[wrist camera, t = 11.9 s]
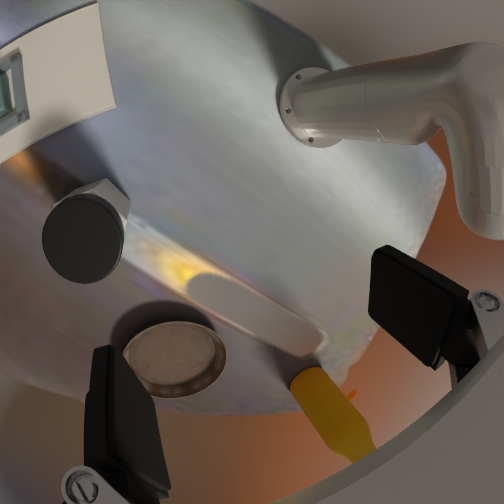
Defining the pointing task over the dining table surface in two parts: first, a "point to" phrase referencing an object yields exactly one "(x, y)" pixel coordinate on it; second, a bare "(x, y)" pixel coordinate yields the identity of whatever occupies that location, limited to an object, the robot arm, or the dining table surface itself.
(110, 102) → the board
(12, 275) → the dining table surface
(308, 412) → the beer bottle
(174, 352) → the plant saucer
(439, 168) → the dining table surface
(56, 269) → the jar
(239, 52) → the dining table surface
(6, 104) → the teal block
